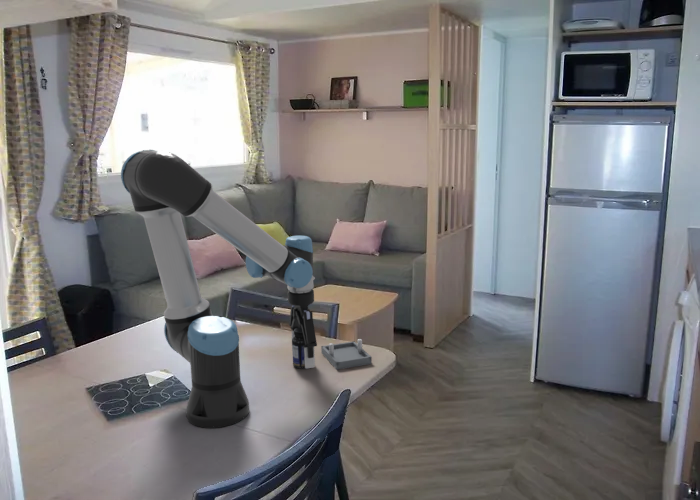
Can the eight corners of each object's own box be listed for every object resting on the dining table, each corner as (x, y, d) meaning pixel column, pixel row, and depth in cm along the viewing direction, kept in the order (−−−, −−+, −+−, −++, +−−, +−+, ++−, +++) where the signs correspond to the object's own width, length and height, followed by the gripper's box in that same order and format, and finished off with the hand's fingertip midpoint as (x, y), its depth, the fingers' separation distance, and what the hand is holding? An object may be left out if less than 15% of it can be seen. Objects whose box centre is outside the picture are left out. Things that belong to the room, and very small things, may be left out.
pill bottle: (315, 361, 179) (314, 326, 177) (311, 369, 173) (310, 333, 171) (294, 360, 180) (293, 326, 178) (290, 368, 174) (289, 333, 172)
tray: (371, 363, 177) (371, 347, 176) (336, 369, 173) (336, 352, 172) (354, 347, 190) (354, 332, 189) (321, 352, 186) (321, 337, 185)
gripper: (327, 299, 162) (328, 372, 166) (301, 278, 185) (303, 342, 189) (300, 302, 159) (302, 377, 164) (277, 280, 182) (280, 346, 186)
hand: (303, 359), depth 176 cm, fingers open, 13 cm apart
